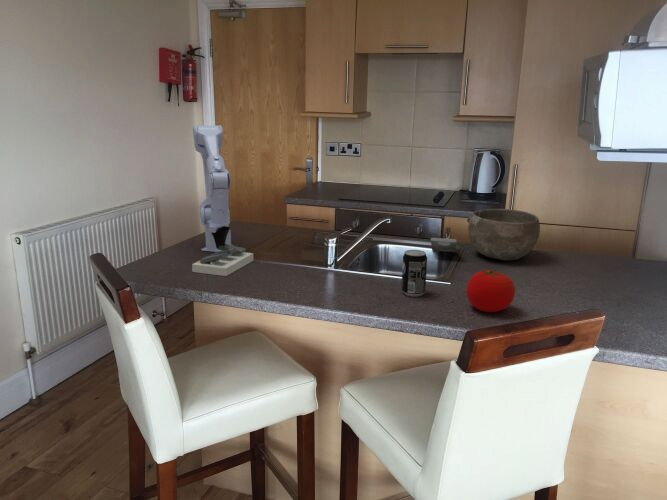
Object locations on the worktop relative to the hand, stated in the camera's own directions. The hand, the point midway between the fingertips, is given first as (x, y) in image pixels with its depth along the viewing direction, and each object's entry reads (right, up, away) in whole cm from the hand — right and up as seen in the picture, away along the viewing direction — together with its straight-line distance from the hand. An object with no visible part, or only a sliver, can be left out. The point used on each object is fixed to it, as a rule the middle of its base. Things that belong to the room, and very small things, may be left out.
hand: (220, 248), depth 184 cm
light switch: (+76, -3, +8) cm, 77 cm away
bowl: (+96, -3, +8) cm, 97 cm away
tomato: (+79, -16, -40) cm, 90 cm away
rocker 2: (+2, -2, -6) cm, 7 cm away
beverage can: (+60, -13, -29) cm, 68 cm away
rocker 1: (+1, -4, -11) cm, 12 cm away
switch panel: (+2, -6, -5) cm, 8 cm away
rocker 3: (+4, -1, -1) cm, 4 cm away
